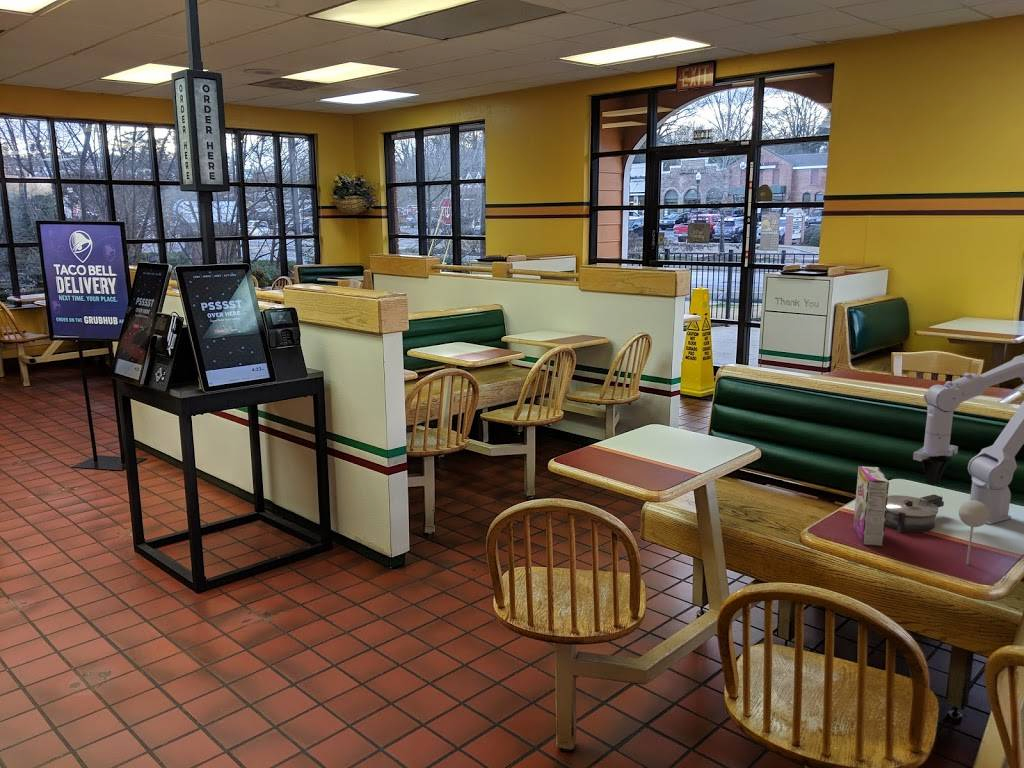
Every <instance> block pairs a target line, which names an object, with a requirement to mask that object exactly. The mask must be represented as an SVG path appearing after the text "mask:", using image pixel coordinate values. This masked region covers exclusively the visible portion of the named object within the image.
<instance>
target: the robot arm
mask: <svg viewBox="0 0 1024 768" xmlns="http://www.w3.org/2000/svg"><path fill="white" fill-rule="evenodd" d="M1015 378H1016V379H1017V378H1020V379H1021V380H1022V382H1023V383H1024V353H1023V354H1021V355H1017V356H1013V358H1012V359H1011V360H1009V361H1007V362H1005V363H1003V364H1000V365H999V366H996V367H994V368H992V369H990V370H988V371H985V372H984V373H982V374H977V373H970V372H965V373H964V374H963V375H962V376H961V377H958V378H957V379H954V380H952V381H950V380H948V381H945V383H944V384H934V385H932V386H931V387H929V388H928V389H927V391H926V394H924V395H923V399H924V402H925V403H926V405H927V408H926V410H927V413H926V423H925V430H924V431H925V432H924V442H923V446H922V447H921V448H920V449H918V450H916V451H913V455H912V456H913V457H912V460H914V461H917V462H920V464H921V466H922V468H923V472H924V478H925V482H926V484H928V485H931V486H935V485H939V484H940V481H941V479H942V476H943V474H944V472H945V470H946V468H947V467H948V466H949V464H950V463H952V458H951V456H953V454H954V455H956V454H958V450H959V446H957V445H953V444H950V443H951V437H952V436H951V435H952V429H953V428H952V427H953V417H954V411H955V410H956V409H957V408H959V406H960V404H961V403H964V402H966V401H968V400H971V399H974V398H976V397H979V396H981V395H983V394H985V392H986V389H987V388H988V387H991V386H992V387H993V386H995V385H998V384H1001V383H1004V382H1006V381H1010V380H1013V379H1015ZM1023 445H1024V400H1023V401H1022V402H1021V404H1020V406H1019V407H1018V408H1017V409H1016V411H1015V413H1014V414H1013V415H1012V417H1011V418H1010V420H1009V421H1008V423H1007V424H1006V425H1005V427H1003V430H1002V431H1001V433H1000V434H999V435H998V437H997V438H996V440H995V441H994V443H993V444H991V445H990V446H987V447H984V448H981V450H980V452H979V453H978V454H976V455H975V456H973V457H972V458H971V459H970V460H969V461H968V465H967V471H968V474H969V475H970V476H971V487H970V488H971V489H970V495H969V497H970V498H969V501H971V500H975V501H979V502H981V503H983V504H984V505H985V506H986V507H987V509H988V511H989V519H988V521H987V522H986V523H985V524H988V525H992V524H996V523H999V522H1003V521H1006V520H1010V519H1012V516H1011V515H1009V511H1010V504H1011V497H1012V494H1011V490H1010V487H1009V486H1010V484H1011V482H1012V480H1013V477H1014V473H1015V471H1016V470H1017V468H1018V465H1017V462H1016V456H1017V454H1018V453H1019V451H1020V450H1021V448H1022V446H1023Z"/></svg>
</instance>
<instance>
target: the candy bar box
mask: <svg viewBox="0 0 1024 768" xmlns="http://www.w3.org/2000/svg"><path fill="white" fill-rule="evenodd" d="M889 485H890V481H889V480H888V478H887V477H886V476H885V474H884V473H883V472H882V470H881V469H880V468H879V467H877V466H864V465H861V466H857V480H856V491H855V503H854V505H855V507H854V514H853V515H854V516H853V526H852V527H853V530H854V531H855V533H856V535H857V537H858V539H859V541H860V543H861V544H862V545H863V546H870V547H871V546H874V547H883V546H884V538H885V529H886V525H885V520H886V509H887V499H888V496H889V487H890V486H889Z"/></svg>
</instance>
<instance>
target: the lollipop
mask: <svg viewBox="0 0 1024 768" xmlns="http://www.w3.org/2000/svg"><path fill="white" fill-rule="evenodd" d="M958 517H959V519H960V521H961V522H962V523H963V524H964V525H966V526H968V527H970V530H969V538H968V539H969V541H968V545H967V546H968V547H967V548H968V549H967V555H966V563H965V564H966V565H967V566H968V565H969V562H970V555H971V548H972V542H973V533H974V528H979V527H982V526H984V525H985V524H987V523H986V522H987V521H988V519H989V511H988V509H987V507H986V506H985V505H984V504H983V503H981V502H979V501H975V500H971V501H970V500H967V501H965V502H963V503H962V504H961V505H960V507H959V509H958Z"/></svg>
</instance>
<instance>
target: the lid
mask: <svg viewBox="0 0 1024 768" xmlns="http://www.w3.org/2000/svg"><path fill="white" fill-rule="evenodd" d="M943 498H944V497H943V496H941V495H937V494H930V495H926V496H923V497H916V496H910V495H896V494H895V495H888V499H887V509H886V511H889V512H891V513H895V514H898V515H899V512H903V513H905V516H909V517H931V516H935V515H936V516H937V515H938V513H939V507H937V506H936V505H935V504H934V503H938V502H942V501H943Z"/></svg>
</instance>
